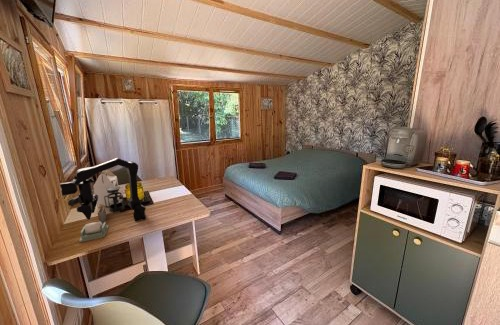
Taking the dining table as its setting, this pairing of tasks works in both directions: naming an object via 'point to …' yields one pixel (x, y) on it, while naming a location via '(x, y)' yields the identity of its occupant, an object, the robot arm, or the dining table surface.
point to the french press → (114, 198)
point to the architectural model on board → (102, 213)
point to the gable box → (104, 187)
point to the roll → (93, 227)
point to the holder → (94, 235)
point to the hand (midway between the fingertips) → (91, 216)
